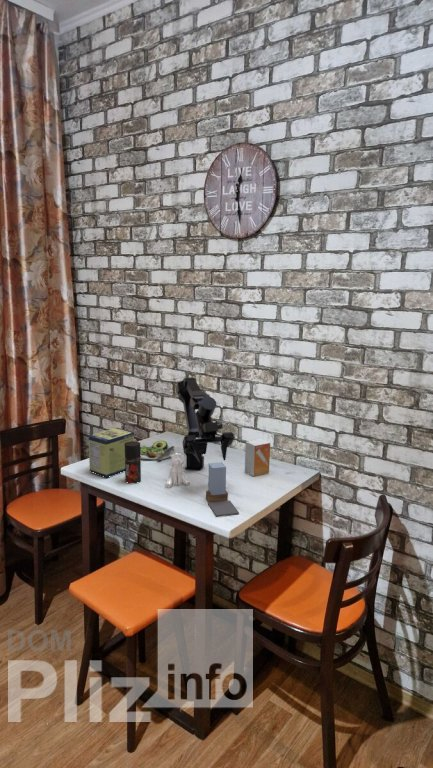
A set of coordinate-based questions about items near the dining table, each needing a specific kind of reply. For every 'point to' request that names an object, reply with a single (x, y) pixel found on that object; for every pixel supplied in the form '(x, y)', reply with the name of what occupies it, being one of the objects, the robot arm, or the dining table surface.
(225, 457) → the robot arm
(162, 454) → the salad plate
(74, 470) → the dining table surface
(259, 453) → the small box
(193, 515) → the dining table surface
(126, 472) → the deodorant
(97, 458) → the protein box
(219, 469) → the slate-blue block
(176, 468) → the white creature statuette
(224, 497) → the walnut plinth
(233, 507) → the charcoal felt mat
